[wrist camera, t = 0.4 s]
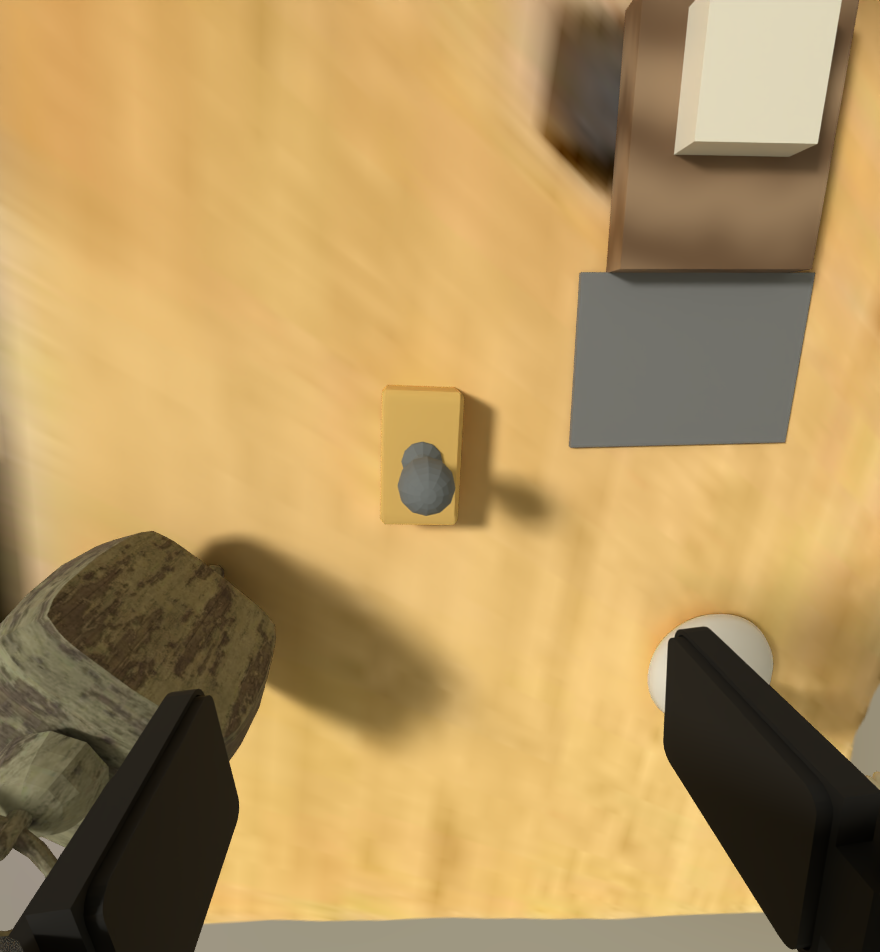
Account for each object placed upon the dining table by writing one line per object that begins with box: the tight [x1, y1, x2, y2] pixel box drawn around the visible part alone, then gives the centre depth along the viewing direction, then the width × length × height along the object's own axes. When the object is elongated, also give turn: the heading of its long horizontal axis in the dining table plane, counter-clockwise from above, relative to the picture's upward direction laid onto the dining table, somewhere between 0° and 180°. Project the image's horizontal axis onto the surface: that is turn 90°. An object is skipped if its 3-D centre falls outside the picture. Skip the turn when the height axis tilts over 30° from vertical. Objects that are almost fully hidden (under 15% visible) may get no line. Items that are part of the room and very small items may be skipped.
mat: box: [569, 272, 815, 448], centre depth 39 cm, size 13×18×1 cm
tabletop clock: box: [0, 531, 276, 936], centre depth 29 cm, size 14×9×25 cm, turn 44°
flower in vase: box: [648, 614, 880, 790], centre depth 35 cm, size 13×11×25 cm
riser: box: [606, 0, 859, 273], centre depth 35 cm, size 16×14×2 cm
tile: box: [674, 0, 842, 157], centre depth 31 cm, size 8×8×2 cm
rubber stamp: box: [380, 385, 464, 525], centre depth 34 cm, size 10×6×12 cm, turn 178°
